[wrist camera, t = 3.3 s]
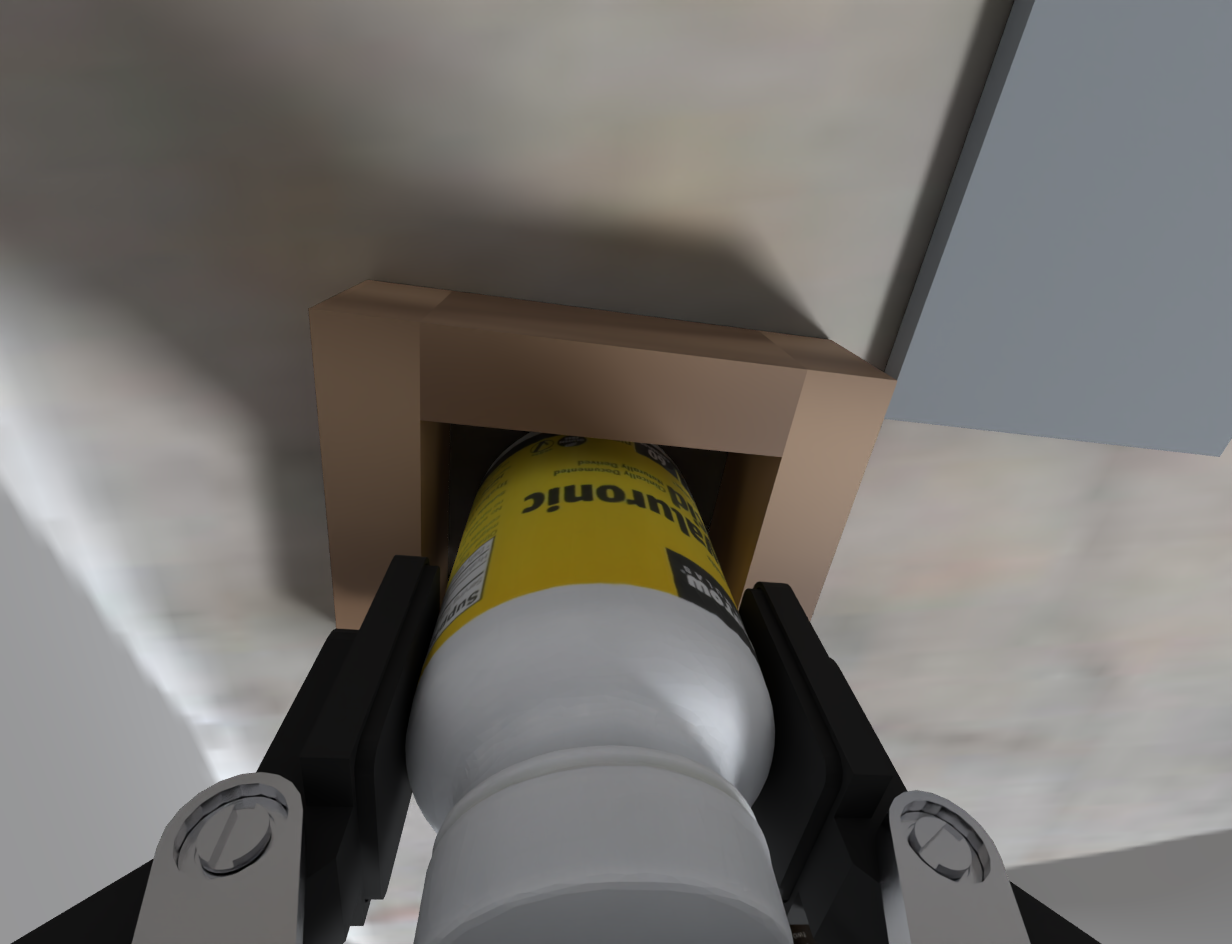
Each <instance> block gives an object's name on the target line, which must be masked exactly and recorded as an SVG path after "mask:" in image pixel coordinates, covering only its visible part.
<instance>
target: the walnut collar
mask: <svg viewBox="0 0 1232 944" xmlns="http://www.w3.org/2000/svg"><path fill="white" fill-rule="evenodd" d="M308 311H309V322H310V333H311V345H312V356H313V367H314V379H315V390H316V402H317V413H318V424H319V436H320V447H321V459H322V470H323V481H324V493H325V504H326V516H327V527H328V538H329V550H330V561H331V573H332V584H333V595H334V607H335V618H336V628H337V629H355V630H359V629H360V627H361V625H362V623H363V621H364V618H365V616H366V614H367V612H368V610H369V608H370V606H371V603H372V601H373V599H374V597H375V595H376V593H377V591H378V589H379V586H380V584H381V582H382V580H383V578H384V576H385V574H386V571H387V569H388V567H389V565H390V563H391V561H392V559H393V557H394V556H395V555H407V556H421V557H428V558H429V563H430V566H439V567H440V609H441V605H442V602H443V599H444V596H445V592H446V589H447V585H448V534H449V478H450V423H452V424H462V425H471V426H481V427H491V428H501V429H511V430H520V431H530V432H540V433H550V434H560V435H569V436H579V437H589V438H599V439H609V440H618V441H628V442H638V443H648V444H658V445H667V446H677V447H687V448H697V449H707V450H717V451H726V452H728V456H727V460H726V464H725V468H724V472H723V476H722V480H721V484H720V488H719V492H718V496H717V500H716V504H715V508H714V513H713V517H712V521H711V525H710V529H709V533H708V535H709V538H710V541H711V544H712V546H713V549H714V551H715V554H716V557H717V559H718V561H719V564H720V566H721V569H722V572H723V575H724V577H725V580H726V582H727V585H728V587H729V589H730V592H731V595H732V597H733V599H734V602H735V604H736V607H737V609H738V611H739V607H740V604H741V601H742V597H743V594H744V591H745V590H746V589H748V588H751V589H753V587H754V585H755V584H756V582H759V581H761V582H775V583H786V584H789V585H790V587H791V588H792V590H793V592H794V594H795V595H796V597H797V599H798V601H799V603H800V605H801V606H802V608H803V610H804V612H805V614H806V616H807V617H808V619H809V621H810V620H811V618H812V615H813V612H814V609H815V607H816V604H817V601H818V598H819V596H820V593H821V590H822V587H823V585H824V582H825V579H826V576H827V574H828V571H829V568H830V565H831V563H832V560H833V557H834V554H835V552H836V549H837V546H838V543H839V541H840V538H841V535H842V532H843V530H844V527H845V524H846V521H847V519H848V516H849V513H850V510H851V508H852V505H853V502H854V499H855V497H856V494H857V491H858V488H859V486H860V483H861V480H862V477H863V475H864V472H865V469H866V466H867V464H868V461H869V458H870V455H871V453H872V450H873V447H874V444H875V442H876V439H877V436H878V433H879V431H880V428H881V425H882V422H883V420H884V417H885V414H886V411H887V409H888V406H889V403H890V400H891V398H892V395H893V392H894V389H895V387H896V384H897V380H896V379H894V378H892V377H891V376H889V375H888V374H886V373H884V372H883V371H881V370H879V369H878V368H876V367H874V366H873V365H871V364H870V363H868V362H866V361H865V360H863V359H861V358H860V357H858V356H856V355H855V354H853V353H852V352H850V351H848V350H847V349H845V348H843V347H842V346H840V345H838V344H837V343H835V342H834V341H832V340H828V339H821V338H813V337H805V336H797V335H790V334H782V333H774V332H767V331H759V330H751V329H743V328H736V327H728V326H720V325H713V324H705V323H697V322H689V321H682V320H674V319H666V318H659V317H651V316H643V315H636V314H628V313H620V312H612V311H605V310H597V309H589V308H582V307H574V306H566V305H558V304H551V303H543V302H535V301H528V300H520V299H512V298H504V297H497V296H489V295H481V294H474V293H466V292H458V291H450V290H443V289H435V288H427V287H420V286H412V285H404V284H396V283H389V282H381V281H373V280H366V281H364V282H362V283H360V284H358V285H356V286H353V287H351V288H349V289H347V290H345V291H343V292H341V293H339V294H337V295H335V296H333V297H331V298H329V299H327V300H325V301H323V302H321V303H319V304H317V305H315V306H313V307H311V308H309V309H308Z"/></svg>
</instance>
